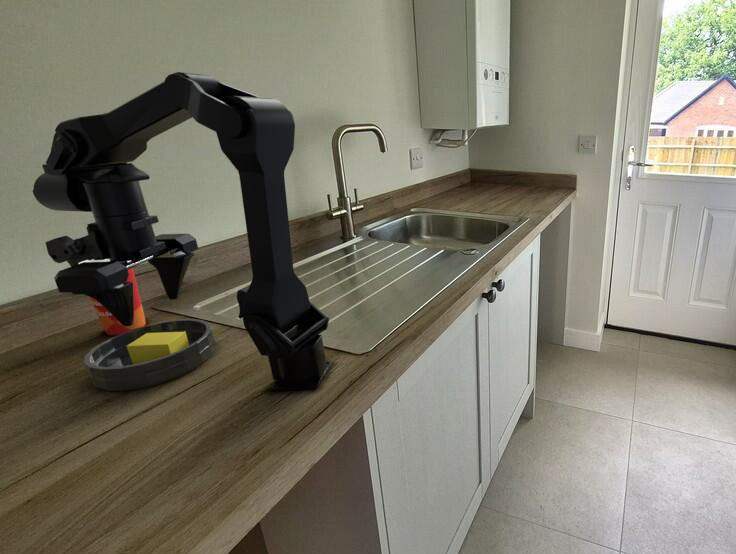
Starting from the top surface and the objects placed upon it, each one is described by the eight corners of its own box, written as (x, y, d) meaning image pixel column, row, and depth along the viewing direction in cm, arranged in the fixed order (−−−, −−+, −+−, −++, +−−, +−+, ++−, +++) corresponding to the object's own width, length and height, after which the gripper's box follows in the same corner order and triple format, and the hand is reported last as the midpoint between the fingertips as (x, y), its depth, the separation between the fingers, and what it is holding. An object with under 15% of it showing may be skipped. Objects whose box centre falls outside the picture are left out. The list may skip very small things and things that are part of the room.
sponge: (191, 352, 68) (185, 331, 66) (174, 366, 64) (167, 344, 63) (153, 354, 67) (146, 333, 66) (134, 368, 64) (126, 345, 62)
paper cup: (88, 334, 75) (61, 262, 71) (137, 315, 82) (114, 249, 77) (115, 341, 72) (88, 267, 68) (162, 322, 79) (141, 253, 75)
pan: (234, 337, 73) (229, 317, 72) (175, 390, 59) (167, 366, 58) (145, 340, 72) (139, 320, 71) (63, 395, 58) (52, 371, 57)
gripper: (116, 201, 67) (144, 289, 72) (-15, 231, 49) (34, 345, 54) (188, 200, 67) (210, 287, 72) (84, 228, 50) (124, 341, 55)
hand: (152, 311), depth 63 cm, fingers open, 9 cm apart
